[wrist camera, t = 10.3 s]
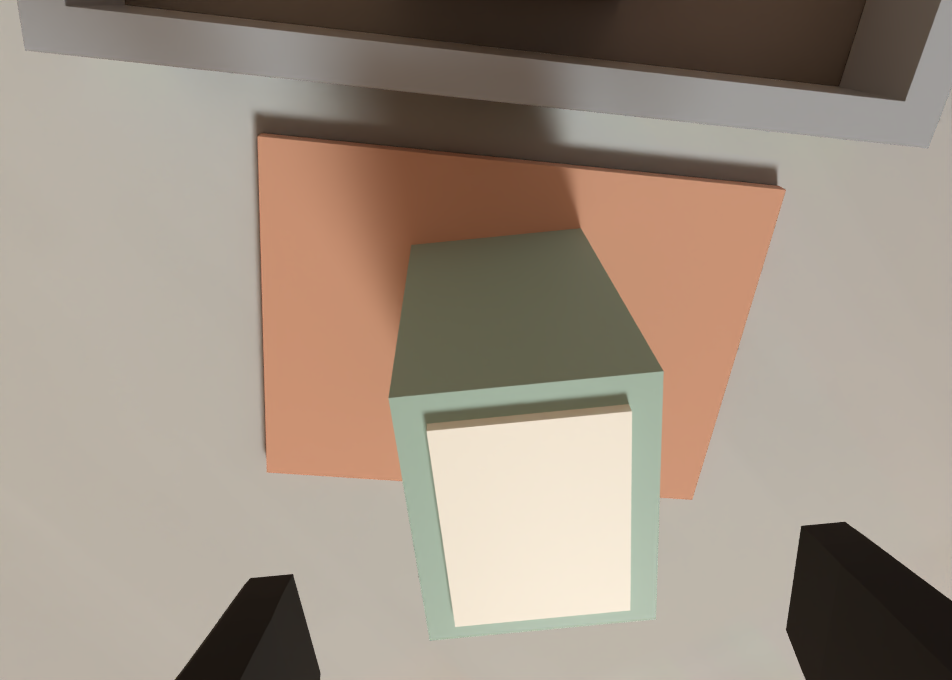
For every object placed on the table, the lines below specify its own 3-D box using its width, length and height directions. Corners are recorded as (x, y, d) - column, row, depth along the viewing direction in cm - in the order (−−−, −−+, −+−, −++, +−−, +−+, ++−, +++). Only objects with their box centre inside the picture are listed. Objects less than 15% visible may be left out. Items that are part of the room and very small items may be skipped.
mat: (778, 186, 17) (786, 189, 16) (687, 490, 20) (692, 499, 20) (261, 133, 16) (257, 136, 15) (270, 463, 19) (266, 472, 19)
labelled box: (580, 228, 16) (667, 378, 10) (585, 409, 19) (658, 628, 12) (411, 244, 16) (387, 405, 10) (435, 423, 19) (429, 650, 12)
